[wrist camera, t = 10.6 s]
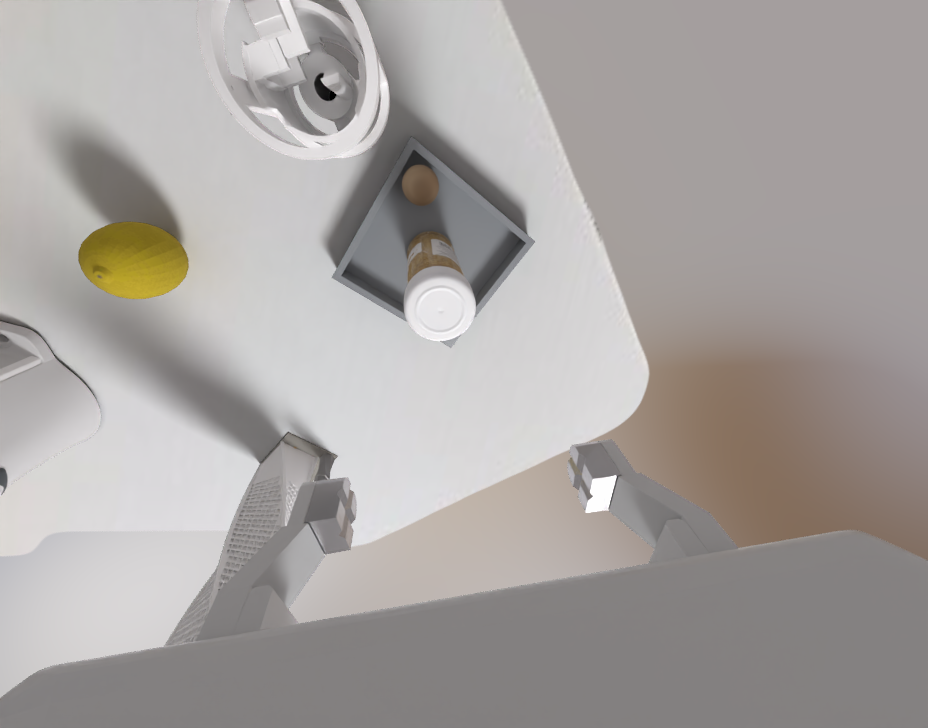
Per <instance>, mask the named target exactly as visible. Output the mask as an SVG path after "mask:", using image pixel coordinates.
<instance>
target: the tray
mask: <svg viewBox="0 0 928 728" xmlns="http://www.w3.org/2000/svg"><path fill="white" fill-rule="evenodd" d="M414 165H425V166H427V167H429V168H430V169H432V170H433V172H434V173H435V174H436V176H437V179H438V182H439V191H438V194H437V196H436V198H435V200H434V201H433V202H432V203H430V204H428V205H425V206H418V205H415V204H413V203H411V202H410V201H409V200H408V199H407V198H406V196H405V195H404V192H403V189H402V179H403V176H404V174H405V172H406V171H407V170H408V169H409V168H410V167H412V166H414ZM428 231H429V232H430V231H434V232H437V233H440V234H442V235H444V236H445V237H446V238H447V239H448V240H449V241H450V243H451V244H452V246H453V249H454V253H455V255H456V257H457V259H458V262H459V264H460V267H461V269H462V271H463V274H464V277H465V278H466V279H467V281H468V282H469V284H470V286H471V288H472V291H473V294H474V297H475V301H476V311H475V316H474V318H475V317H476V316H477V314H478V313H479V312H480V311H481V309H482V308H483V307H484V305H485V304H486V303H487V302H488V300H489V299H490V298H491V297H492V295H493V294H494V293H495V292H496V290H497V289H498V288H499V287H500V285H501V284H502V283H503V282H504V280H505V279H506V278H507V277H508V275H509V274H510V273H511V271H512V270H513V269H514V268H515V266H516V265H517V264H518V263H519V261H520V260H521V259H522V258H523V256H524V255H525V254H526V253H527V251H528V250H529V249H530V248H531V246H532V245H533V244H534V243H535V241H534V240H533V239H532V238H530V237H529V236H528V235H527V234H526V233H525V232H523V231H522V230H521V229H520V228H519V227H518V226H516V225H515V224H514V223H513V222H512V221H510V220H509V219H508V218H507V217H506V216H505V215H503V214H502V213H501V212H500V211H499V210H498V209H496V208H495V207H494V206H493V205H492V204H490V203H489V202H488V201H487V200H486V199H485V198H483V197H482V196H481V195H480V194H479V193H478V192H476V191H475V190H474V189H473V188H472V187H471V186H469V185H468V184H467V183H466V182H465V181H463V180H462V179H461V178H460V177H459V176H458V175H456V174H455V173H454V172H453V171H452V170H451V169H449V168H448V167H447V166H446V165H445V164H444V163H442V162H441V161H440V160H439V159H438V158H436V157H435V156H434V155H433V154H432V153H431V152H429V151H428V150H427V149H426V148H425V147H424V146H422V145H421V144H420V143H419V142H418V141H416V140H415V139H414V138H413V137H412V136H411V137H410V139H409V141H408V143H407V145H406V146H405V148H404V150H403V152H402V153H401V155H400V157H399V159H398V161H397V162H396V164H395V166H394V168H393V169H392V171H391V173H390V175H389V177H388V178H387V180H386V182H385V184H384V185H383V187H382V189H381V191H380V193H379V194H378V196H377V198H376V200H375V201H374V203H373V205H372V207H371V209H370V210H369V212H368V214H367V216H366V217H365V219H364V221H363V223H362V225H361V226H360V228H359V230H358V232H357V233H356V235H355V237H354V239H353V241H352V242H351V244H350V246H349V248H348V250H347V251H346V253H345V255H344V257H343V258H342V260H341V262H340V264H339V266H338V267H337V269H336V271H335V273H334V274H333V276H332V278H333V279H335V280H337V281H338V282H340V283H342V284H344V285H345V286H347V287H349V288H350V289H352V290H354V291H355V292H357V293H359V294H360V295H362V296H364V297H366V298H367V299H369V300H371V301H372V302H374V303H376V304H377V305H379V306H381V307H383V308H384V309H386V310H388V311H389V312H391V313H393V314H394V315H396V316H398V317H399V318H401V319H403V320H405V321H406V322H407V320H406V318H405V314H404V294H405V289H406V287H407V262H408V260H407V250H408V247H409V244H410V242H411V241H412V240H413V239H414V238H415V237H416V236H417V235H419V234H420V233H422V232H428ZM460 336H461V335H459V336H457V337H455V338H453V339H450V340H446V341H440V342H442V343H444V344H445V345H447V346H449V347H450V348H451V347H452V346H453V345H454V343H455V342H456V341H457V339H458V338H459V337H460Z"/></svg>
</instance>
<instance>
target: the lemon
mask: <svg viewBox="0 0 928 728" xmlns="http://www.w3.org/2000/svg"><path fill="white" fill-rule="evenodd" d="M78 255H79V263H80V266H81V269H82V271H83V272H84V274H85V276H86V277H87V278H88V279H89V280H90V281H91V282H92V283H93V284H94V285H96V286H97V287H98V288H100V289H102V290H104V291H105V292H107V293H110V294H112V295H115V296H118V297H123V298H128V299H146V298H151V297H155V296H159V295H163V294H165V293H168V292H169V291H171V290H172V289H174V288H176V287H177V286H178V285H179V284H180V283H181V282H182V281H183V279H184V278H185V277H186V274H187V271H188V257H187V254H186V252H185V250H184V248H183V247H182V245H181V244H180V243H179V242H178V241H177V239H176V238H174V237H173V236H172V235H171V234H169V233H168V232H166V231H164V230H162V229H160V228H158V227H155V226H153V225H150V224H146V223H139V222H121V223H113V224H110V225H107V226H105V227H102V228H100V229H98V230H96V231H94V232H93V233H91V234H90V235H89V236H88V237H87V238H86V239H85V240H84V241H83V243H82V244H81V247H80V249H79V254H78Z"/></svg>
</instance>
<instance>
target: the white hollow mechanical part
mask: <svg viewBox="0 0 928 728" xmlns="http://www.w3.org/2000/svg"><path fill="white" fill-rule="evenodd" d="M230 1H231V0H198V4H197V31H198V39H199V45H200V49H201V53H202V57H203V60H204V64H205V66H206V69H207V72H208V74H209V77H210V79H211V81H212V83H213V85H214V87H215V89H216V91H217V93H218V95H219V96H220V98H221V100H222V101H223V103H224V104H225V106H226V107H227V109H228V110H229V111H230V113H231V114H232V115H233V116H234V117H235V119H236V120H237V121H238V122H239V123H240V124H241V125H242V126H243V127H244V128H245V129H246V130H247V131H248V132H249V133H250V134H251V135H252V136H254V137H255V138H256V139H258V140H259V141H260V142H262V143H263V144H265V145H266V146H268V147H270V148H271V149H273V150H275V151H277V152H279V153H282V154H284V155H287V156H290V157H294V158H298V159H305V160H320V159H329V158H333V157H334V158H347V157H354V156H357V155H360V154H362V153H364V152H366V151H367V150H369V149H370V148H371V147H372V146H373V145H374V144H375V143H376V142H377V141H378V140H379V138H380V137H381V135H382V133H383V131H384V129H385V127H386V124H387V120H388V116H389V109H390V93H389V85H388V81H387V77H386V73H385V70H384V68H383V65H382V62H381V60H380V57H379V54H378V52H377V49H376V46H375V44H374V41H373V38H372V36H371V33H370V30H369V28H368V25H367V22H366V20H365V18H364V16H363V13H362V11H361V9H360V7H359V6H358V4H357V2H356V0H338V1H339V2H340V3H341V4H342V6H343V7H344V8H345V10H346V12H347V13H348V15H349V16H350V18H351V20H352V21H353V22H351V21H350V20H349V19H347V18H346V17H344V16H342V15H341V14H339V13H337V12H334V11H332V10H329V9H326V8H325V7H323V6H321V5H319V4H317V3H315V2H312V1H309V0H243V1H244V3H245V4H244V5H245V7H246V9H247V12H248V14H249V16H250V18H251V21H252V23H253V24H254V26H255V28H256V30H257V32H258V35H259V37H260V38H261V39H260V40H258V41H255V43H252V44H247V43H246V42H244V41H243V40H242V57H243V64H244V69H245V73H246V76H247V79H248V81H246V80H244V79H241V78H239V77H237V76H234V75H232V74H231V73H230V70H229V67H228V63H227V59H226V54H225V47H224V24H225V18H226V13H227V9H228V6H229V4H230ZM324 42H331V43H335V44H337V45H339V46H341V47H343V48H345V49H346V50H347V51H349V52H350V53H351V54H352V55H353V56H354V57H355V58H356V59H357V60H358V62H359V63H358V64H357V65H358V71H359V80H355V79H354V78H353V76H352V75H351V74H350V73H349V72H348V71H347V70H346V68H345V67H344V66H343V65H342V64H341V62H340V61H338V60H337V59H336V58H335V57H333V56H331V55H329V54H327V53H326V52H325V50H324V48H323V47H325V45H324ZM357 42H358V43H359V44H360V46H361V47H362V48H363V51H364V55H363V53H362V51H361V50H360V48H359V46H358V44H357ZM304 53H308V56H307V57H306V58H305V59H304V60H303V62H302V63H301V62H300V60H299V57H298V56H299V55H301V54H304ZM364 56H365V57H364ZM296 85H299V90H300V93H301V95H302V98H303V100H304V101H305V103H306V104H307V106H308V107H309V108H310V109H311V110H312V111H313V112H314V113H316V114H317V115H319V116H320V117H323V118H325V119H328V120H331V121H333V122H335V124H336V127H337V130H338V132H337V133H335V134H332V135H327V134H325V133H323V132H321V131H320V130H318V129H317V128H315V127H314V126H313V125H312V124H311V123H310V122H309V121H308V120H307V118H306V117H305V116H304V114H303V113H302V111H301V109H300V108H299V105H298V103H297V101H296V98H295V94H294V90H293V86H296ZM330 91H333V92H334V93H335V94H337V96H336V97H335V99H333V100H332V101H329V94H330ZM380 92H381V104H380V112H379V116H378V119H377V122H376V124H375V126H374V128H373V130H372V132H371V133H370V134H369V136H368V137H367V138H366V139H365V140H363V141H362V142H361V143H359V142H360V141H361V140H362V138H363V137H364V136H365V135H366V133H367V132H368V131H369V130H370V128H371V126H372V124H373V122H374V120H375V117H376V113H377V107H378V102H379V95H380ZM251 111H253V112H257V113H261V114H265V115H269V116H273V117H277V118H278V119H279V120H280V121H281V122H282V123H283V124H284V125H285V126H286V127H284V128H285V129H287V130H288V131H289V132H291V133H292V135H293V136H294V137H295V138H296V139H298V140H299V141H300V142H301V143H302V144H304V145H305V146H306V147H302V146H298V145H295V144H293V143H290V142H288V141H286V140H284V139H282V138H280V137H279V136H277V135H276V134H274V133H273V132H271V131H270V130H269V129H268V128H267V127H265V126H264V125H263V124H262V123H261V122H260V121H259V120H258V119H257V118H256V117H255V115H254V114H253V113H252V112H251ZM318 142H321V143H330V144H329V145H326V146H324V145H322V144H320V143H318ZM358 143H359V144H358Z"/></svg>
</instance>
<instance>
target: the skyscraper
mask: <svg viewBox="0 0 928 728" xmlns="http://www.w3.org/2000/svg"><path fill="white" fill-rule="evenodd" d="M337 457H338V456H337V455H335V454H333V453H331V452H328V451H326V450H324V449H322V448H320V447H318V446H316V445H314V444H312V443H310V442H308V441H306V440H304V439H302V438H299V437H297V436H295V435H293V434H291V433H289V432H288V433H287V434H286V435H285V437H284V438H283V439H282V440H281V441H280V442H279V443H278V444H277V445H276V447H275V448H274V449H273V450H272V451H271V452H270V453H269V454H268V455H267V457H266V458H265V459H264V460H263V461H262V462H261V463H260V465H259V467H258V469H257V470H256V472H255V474H254V476H253V478H252V480H251V482H250V484H249V486H248V488H247V490H246V492H245V494H244V496H243V498H242V500H241V502H240V504H239V507H238V509H237V511H236V514H235V516H234V519H233V521H232V524H231V526H230V529H229V532H228V535H227V538H226V540H225V544H224V547H223V550H222V553H221V556H220V560H219V564H218V566H217V568H216V570H215V572H214V573H213V574H212V576H211V577H210V579H209V580H208V581H207V582H206V584H205V585H204V586H203V588H202V589H201V591H200V592H199V594H198V595H197V596H196V598H195V599H194V601H193V602H192V603H191V605H190V607H189V608H188V609H187V611H186V612H185V614H184V616H183V617H182V618H181V620H180V622H179V623H178V625H177V626H176V628H175V629H174V631H173V633H172V634H171V636H170V637H169V639H168V641H167V642H166V644H165V646H171V645H177V644H182V643H188V642H194V641H196V640H197V638H198V635H199V633H200V631H201V629H202V627H203V624H204V622H205V620H206V618H207V615H208V613H209V611H210V609H211V606H212V604H213V602H214V600H215V598H216V595H217V593H218V591H219V590H220V589H221V588H222V587H223V586H224V585H225V584H226V583H227V582H228V581H229V580H230V579H231V578H232V577H233V576H234V575H235V574H236V573H237V572H238V571H239V570H240V569H241V568H242V567H243V566H244V565H245V564H246V563H247V562H248V561H249V560H250V559H251V558H252V557H253V556H254V555H255V554H256V553H257V552H258V551H259V550H260V549H261V548H262V547H263V546H264V545H265V544H266V543H267V542H268V541H269V539H270V538H271V537H272V536H273V535H274V534H275V533H276V532H277V531H278V530H279V529H280V528H281V527H284V526H287V523H288V520H289V517H290V514H291V511H292V508H293V506H294V503H295V500H296V497H297V494H298V491H299V488H300V486H301V485H302V484H303V483H305V482H312V481H313V480H314V481H321V480H329V479H330V470H331V468H332V465H333V462H334V460H335V459H336V458H337ZM165 646H164V647H165Z"/></svg>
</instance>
